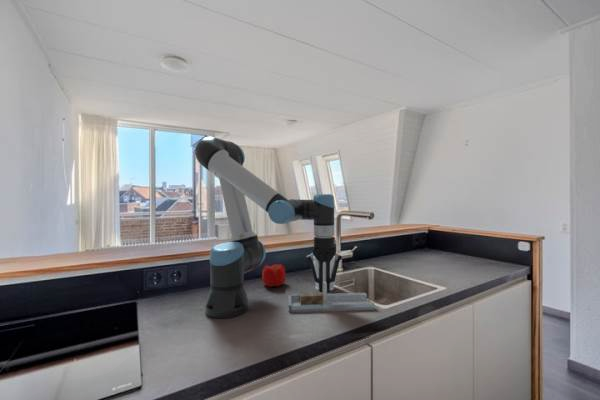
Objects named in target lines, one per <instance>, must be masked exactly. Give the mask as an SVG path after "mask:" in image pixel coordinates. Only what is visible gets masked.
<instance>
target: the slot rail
mask: <svg viewBox="0 0 600 400" xmlns="http://www.w3.org/2000/svg"><path fill="white" fill-rule="evenodd" d="M287 300H288V302H287V303H288V304H287V305H288V312H289V313H305V312H308V313H311V312H344V311H375V310H376V309H375V302H373V301H369V300H368V294H367V293H366V292H348V293H347V292H343V293H342V292H341V293H340V292H339V293H327V302H323V304H310V305H300V293H299V294H296V293H295V294H288V298H287Z"/></svg>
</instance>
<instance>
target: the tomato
mask: <svg viewBox="0 0 600 400" xmlns="http://www.w3.org/2000/svg"><path fill="white" fill-rule="evenodd" d="M261 272H262V273H261V274H262V275H261V278H262V282H263V284H264V285H265V286H267V287H269V288H272V287H279V286H282V285H283V284H284V283H285V282H286V277H287V276H286V268H285V267H284V265H283V264H280V263H279V264H276V263H275V264H272V265H267V264H266V265H265V266H264V267H263V269H262V271H261Z"/></svg>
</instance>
